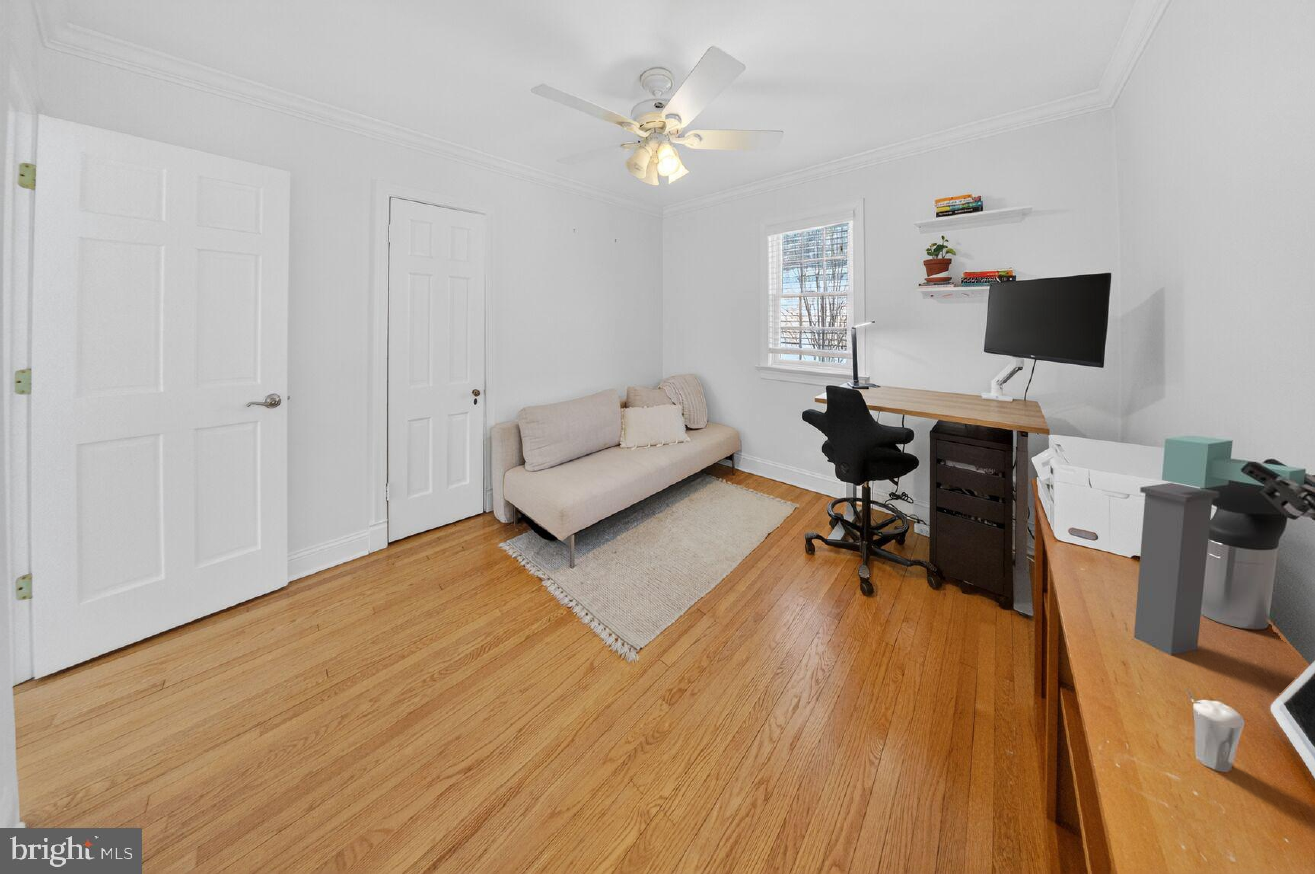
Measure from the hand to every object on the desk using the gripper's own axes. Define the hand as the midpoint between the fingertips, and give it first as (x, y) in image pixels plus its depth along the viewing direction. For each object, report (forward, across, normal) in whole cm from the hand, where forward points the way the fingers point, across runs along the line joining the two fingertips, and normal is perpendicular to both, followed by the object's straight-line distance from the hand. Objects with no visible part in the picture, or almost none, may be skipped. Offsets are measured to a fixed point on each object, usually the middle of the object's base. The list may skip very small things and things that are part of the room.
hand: (1255, 464), depth 73 cm
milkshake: (-30, -24, -28) cm, 48 cm away
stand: (-11, 0, -39) cm, 40 cm away
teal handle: (0, 0, -6) cm, 6 cm away
